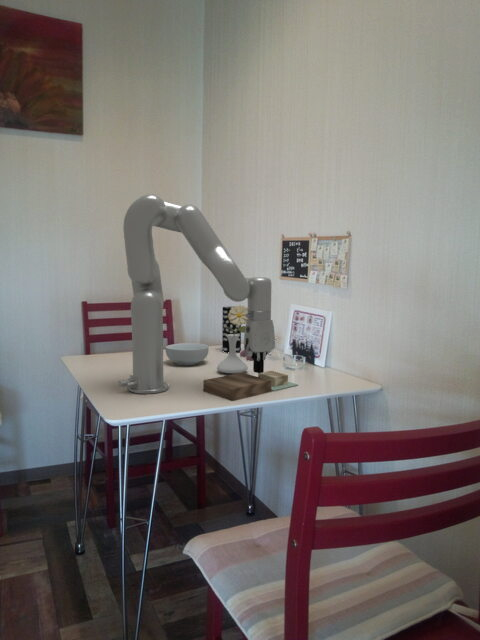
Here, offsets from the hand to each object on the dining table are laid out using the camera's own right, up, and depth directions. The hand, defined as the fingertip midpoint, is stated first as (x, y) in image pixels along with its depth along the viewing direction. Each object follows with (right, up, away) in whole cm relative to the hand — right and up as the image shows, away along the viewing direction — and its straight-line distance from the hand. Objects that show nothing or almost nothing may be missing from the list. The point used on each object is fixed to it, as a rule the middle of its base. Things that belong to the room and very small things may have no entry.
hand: (258, 372), depth 157 cm
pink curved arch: (-2, 0, +46) cm, 46 cm away
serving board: (-7, -5, -5) cm, 10 cm away
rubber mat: (+4, -4, +4) cm, 7 cm away
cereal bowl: (-27, -1, +35) cm, 44 cm away
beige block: (+5, -3, +4) cm, 7 cm away
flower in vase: (-8, -3, +20) cm, 22 cm away
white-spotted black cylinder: (-10, +2, +61) cm, 62 cm away
